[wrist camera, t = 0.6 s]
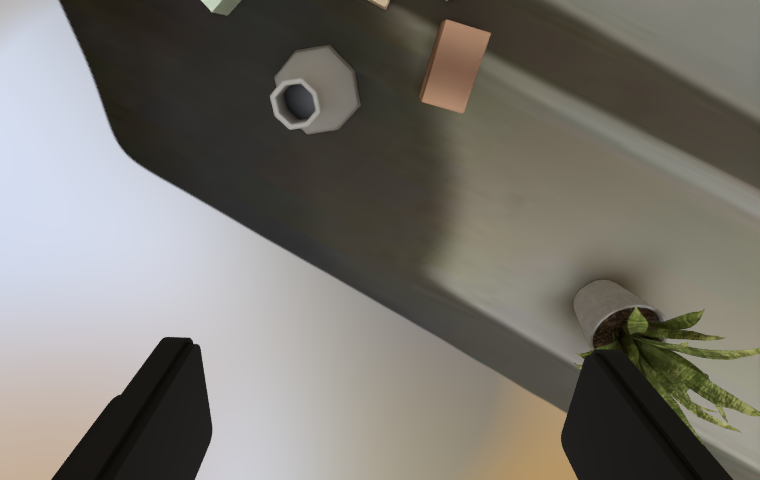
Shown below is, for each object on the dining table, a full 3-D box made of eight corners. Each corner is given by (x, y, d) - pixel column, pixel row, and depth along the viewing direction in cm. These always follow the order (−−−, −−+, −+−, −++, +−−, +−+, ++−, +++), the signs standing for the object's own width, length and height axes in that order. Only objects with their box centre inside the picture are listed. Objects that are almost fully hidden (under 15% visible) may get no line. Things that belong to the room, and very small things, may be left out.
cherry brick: (440, 22, 34) (446, 19, 31) (481, 34, 34) (491, 33, 31) (418, 97, 36) (421, 101, 33) (456, 108, 37) (463, 113, 33)
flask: (260, 71, 35) (216, 78, 26) (333, 27, 34) (314, 19, 25) (304, 147, 38) (278, 177, 29) (374, 109, 37) (370, 129, 27)
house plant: (526, 369, 48) (589, 511, 33) (510, 266, 43) (577, 381, 28) (655, 345, 46) (782, 483, 32) (656, 234, 41) (810, 339, 26)
